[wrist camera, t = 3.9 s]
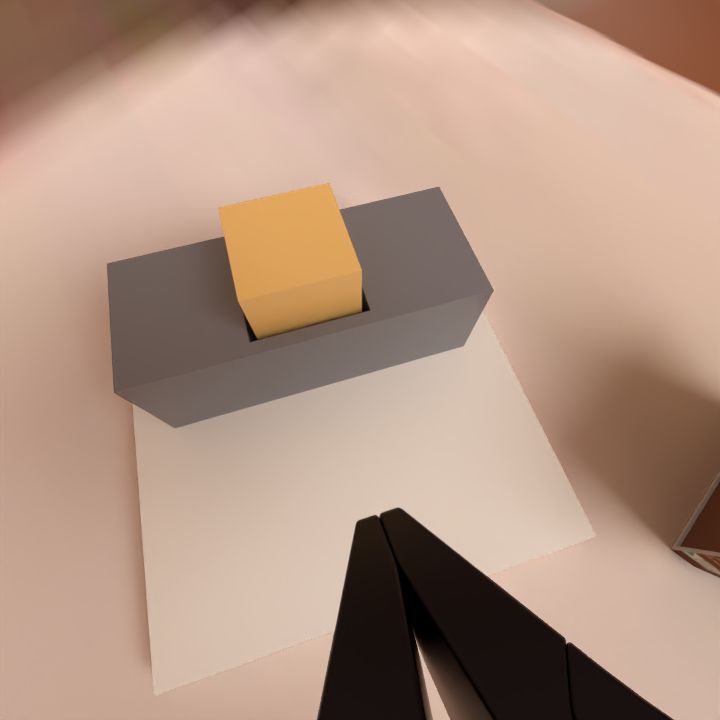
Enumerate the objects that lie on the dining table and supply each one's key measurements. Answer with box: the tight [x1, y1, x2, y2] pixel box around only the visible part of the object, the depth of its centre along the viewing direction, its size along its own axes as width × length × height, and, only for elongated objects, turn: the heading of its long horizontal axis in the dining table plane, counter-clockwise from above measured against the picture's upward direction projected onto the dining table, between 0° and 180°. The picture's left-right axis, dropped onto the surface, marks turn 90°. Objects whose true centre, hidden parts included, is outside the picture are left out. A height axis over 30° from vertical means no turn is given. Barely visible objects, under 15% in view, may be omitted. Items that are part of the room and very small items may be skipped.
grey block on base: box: [107, 187, 597, 696], centre depth 19 cm, size 18×20×7 cm
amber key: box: [218, 183, 362, 340], centre depth 17 cm, size 5×5×3 cm
